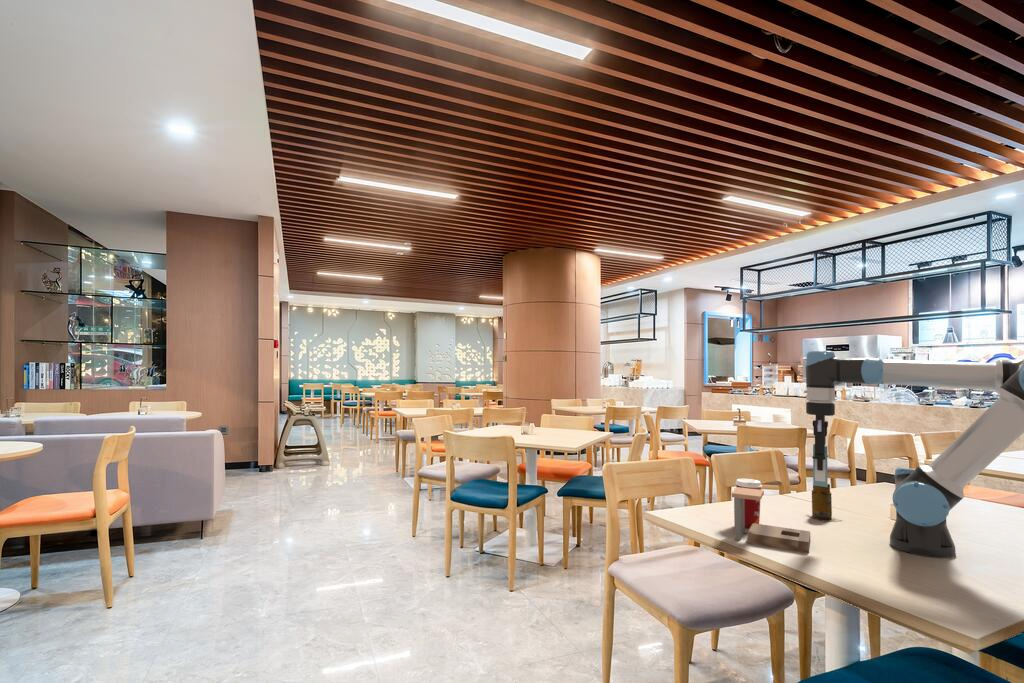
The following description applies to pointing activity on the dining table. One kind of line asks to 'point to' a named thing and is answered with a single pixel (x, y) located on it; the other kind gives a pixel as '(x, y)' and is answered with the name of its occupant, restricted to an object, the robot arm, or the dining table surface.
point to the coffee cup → (750, 502)
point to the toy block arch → (739, 508)
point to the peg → (824, 484)
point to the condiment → (822, 504)
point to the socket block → (779, 537)
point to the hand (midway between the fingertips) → (820, 479)
